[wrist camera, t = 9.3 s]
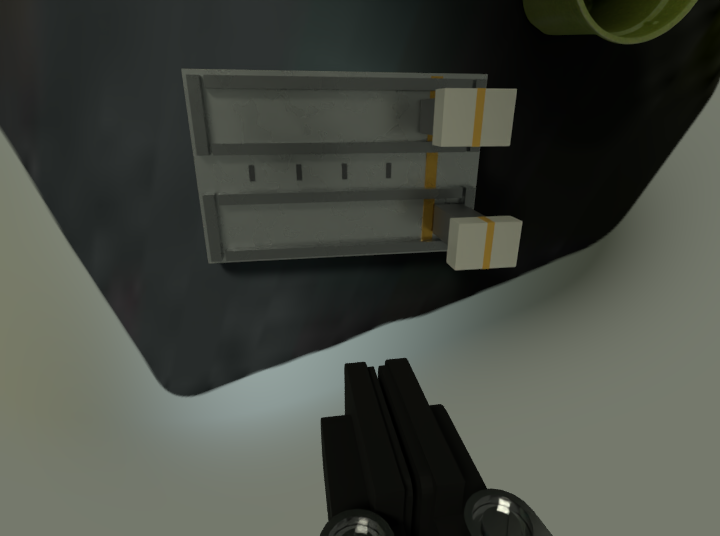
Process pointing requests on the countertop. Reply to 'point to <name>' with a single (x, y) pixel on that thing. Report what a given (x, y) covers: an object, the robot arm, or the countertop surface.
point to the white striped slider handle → (469, 117)
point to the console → (321, 162)
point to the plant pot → (607, 17)
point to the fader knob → (476, 237)
